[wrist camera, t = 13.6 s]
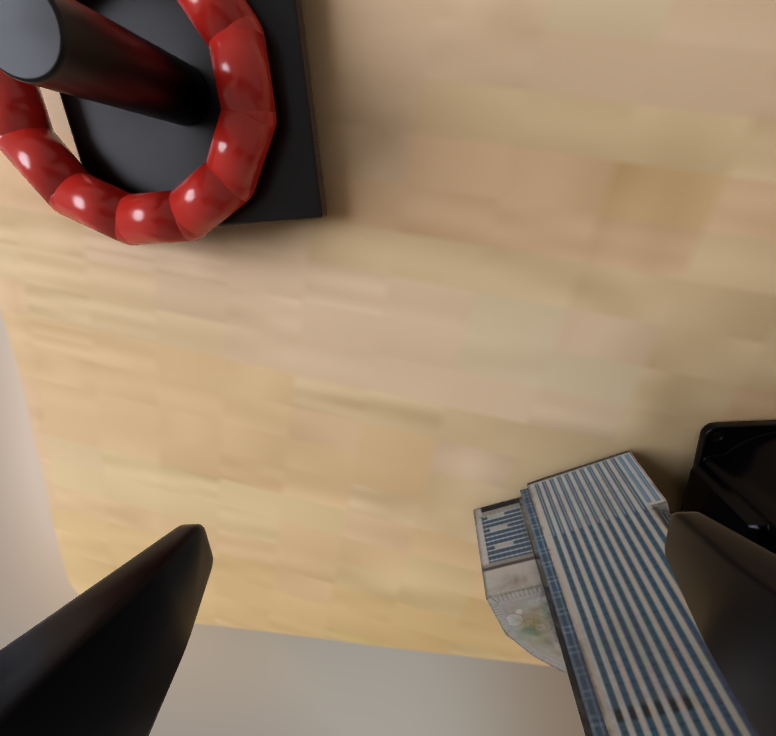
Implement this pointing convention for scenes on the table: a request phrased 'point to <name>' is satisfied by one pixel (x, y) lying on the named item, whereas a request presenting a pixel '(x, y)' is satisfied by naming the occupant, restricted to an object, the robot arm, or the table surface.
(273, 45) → the peg
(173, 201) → the ring
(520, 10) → the table surface
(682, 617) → the building
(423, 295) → the table surface
